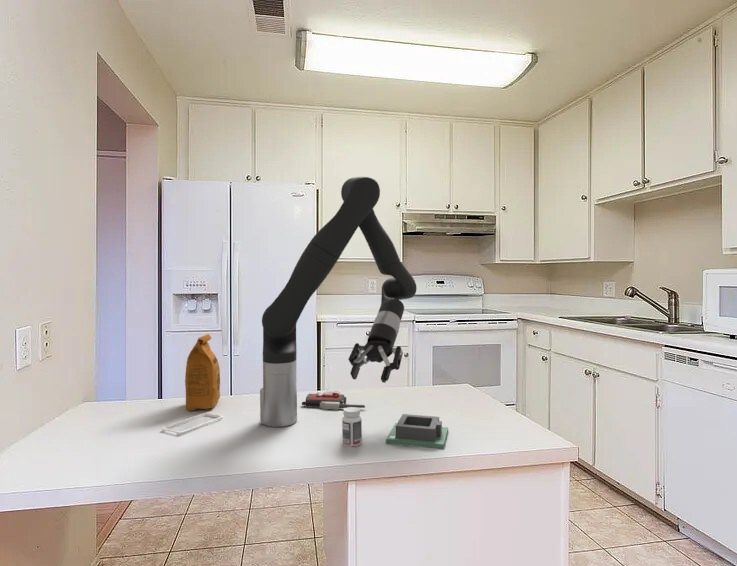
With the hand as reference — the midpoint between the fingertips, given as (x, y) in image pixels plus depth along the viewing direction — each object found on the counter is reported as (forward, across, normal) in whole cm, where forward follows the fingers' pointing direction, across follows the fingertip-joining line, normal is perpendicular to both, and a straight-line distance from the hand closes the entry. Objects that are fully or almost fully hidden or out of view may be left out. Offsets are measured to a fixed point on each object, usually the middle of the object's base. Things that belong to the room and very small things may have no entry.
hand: (368, 379), depth 118 cm
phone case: (+21, -46, -1) cm, 50 cm away
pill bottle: (+16, 0, +3) cm, 17 cm away
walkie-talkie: (-1, -19, +21) cm, 29 cm away
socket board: (+9, +13, +10) cm, 19 cm away
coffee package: (+10, -56, +9) cm, 58 cm away
